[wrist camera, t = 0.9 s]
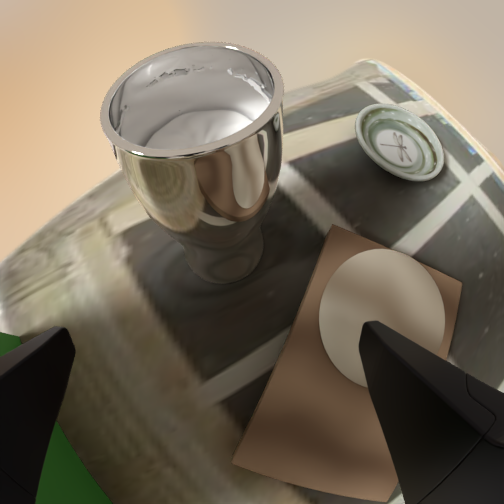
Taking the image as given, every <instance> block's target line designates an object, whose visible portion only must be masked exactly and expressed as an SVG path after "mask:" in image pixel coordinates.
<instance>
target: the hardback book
mask: <svg viewBox="0 0 504 504" xmlns="http://www.w3.org/2000/svg"><path fill="white" fill-rule="evenodd" d="M20 345H22V344H21V341H20V338H19V336H14V335H10V334H6V333H2V332H0V357H1V356H3V355H5V354H6V353H8V352H10V351H12V350H13V349H15V348H17V347H19V346H20ZM35 504H113V503H112V502H111V501H110V499H109V498H108V497H107V496H106V494H105V493H104V492H103V491H102V489H101V488H100V487H99V485H98V484H97V483H96V481H95V480H94V479H93V477H92V476H91V474H90V473H89V472H88V470H87V469H86V467H85V466H84V464H83V463H82V462H81V460H80V459H79V457H78V455H77V454H76V452H75V451H74V449H73V448H72V446H71V444H70V443H69V441H68V440H67V438H66V436H65V435H64V433H63V431H62V429H61V428H60V426H59V424H58V422H57V420H56V423H55V426H54V429H53V432H52V436H51V439H50V443H49V446H48V450H47V454H46V458H45V461H44V465H43V470H42V474H41V478H40V483H39V487H38V492H37V497H36V503H35Z"/></svg>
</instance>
